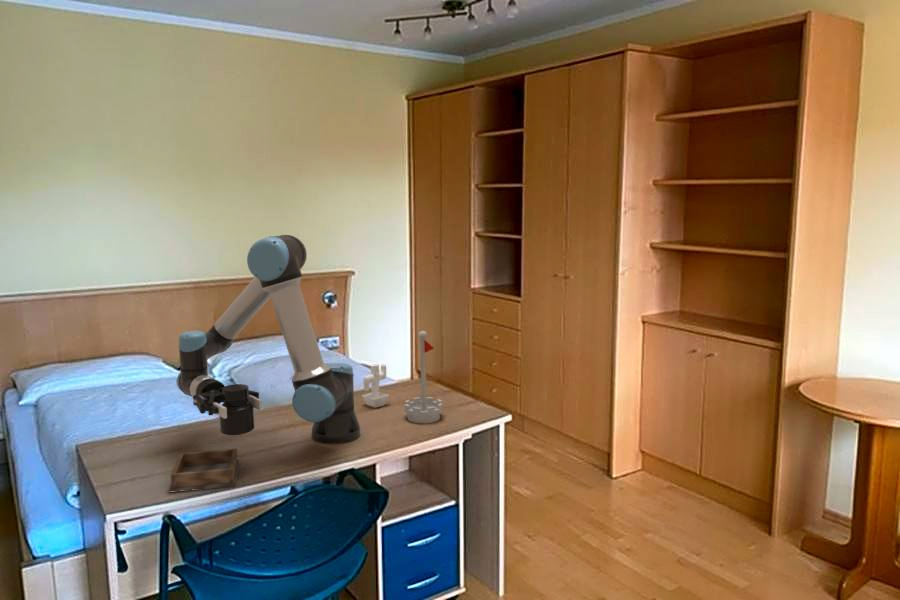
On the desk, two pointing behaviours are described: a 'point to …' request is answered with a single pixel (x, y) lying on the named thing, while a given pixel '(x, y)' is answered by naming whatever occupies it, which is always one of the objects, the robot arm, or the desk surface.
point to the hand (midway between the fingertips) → (243, 409)
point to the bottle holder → (205, 470)
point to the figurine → (375, 387)
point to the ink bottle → (237, 410)
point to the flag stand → (423, 394)
